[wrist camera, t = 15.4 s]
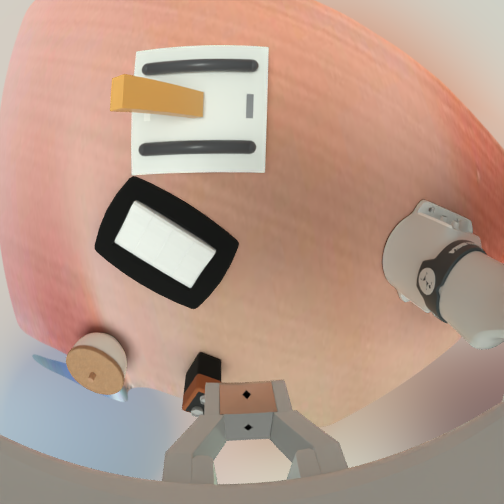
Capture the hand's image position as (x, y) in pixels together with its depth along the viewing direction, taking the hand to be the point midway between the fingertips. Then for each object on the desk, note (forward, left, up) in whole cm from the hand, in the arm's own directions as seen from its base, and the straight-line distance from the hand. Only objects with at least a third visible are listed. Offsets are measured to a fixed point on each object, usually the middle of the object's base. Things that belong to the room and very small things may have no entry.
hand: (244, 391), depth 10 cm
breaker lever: (+4, -14, -26) cm, 29 cm away
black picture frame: (+9, +5, -32) cm, 33 cm away
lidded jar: (+23, +24, -31) cm, 46 cm away
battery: (+5, +28, -31) cm, 42 cm away
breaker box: (+4, -14, -31) cm, 34 cm away
